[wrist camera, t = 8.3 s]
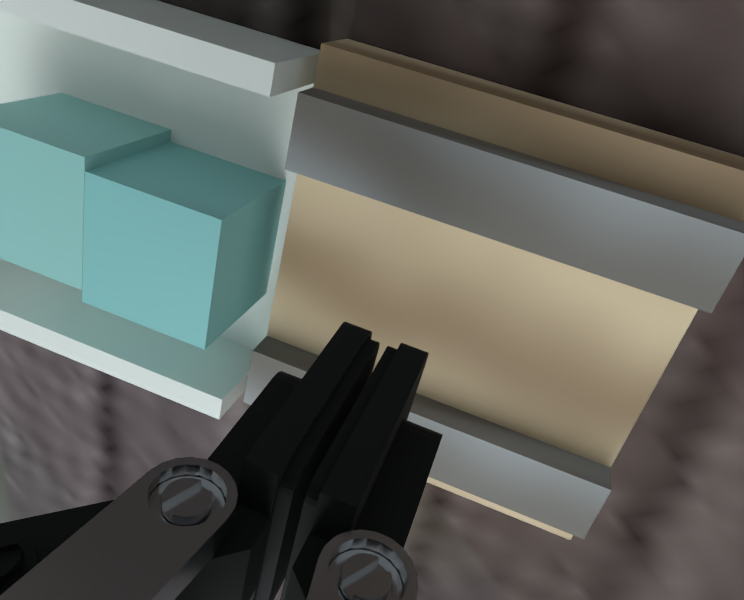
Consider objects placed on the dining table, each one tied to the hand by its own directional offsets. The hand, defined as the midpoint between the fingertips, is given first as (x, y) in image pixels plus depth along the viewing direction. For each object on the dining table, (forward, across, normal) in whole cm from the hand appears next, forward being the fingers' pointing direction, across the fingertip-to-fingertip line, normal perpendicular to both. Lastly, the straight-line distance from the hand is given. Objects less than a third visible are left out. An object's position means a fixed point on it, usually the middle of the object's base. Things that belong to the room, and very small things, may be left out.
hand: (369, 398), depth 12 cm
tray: (+8, +11, +2) cm, 14 cm away
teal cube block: (+8, +7, +2) cm, 11 cm away
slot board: (+8, -1, +2) cm, 9 cm away
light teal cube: (+8, +11, +2) cm, 14 cm away
